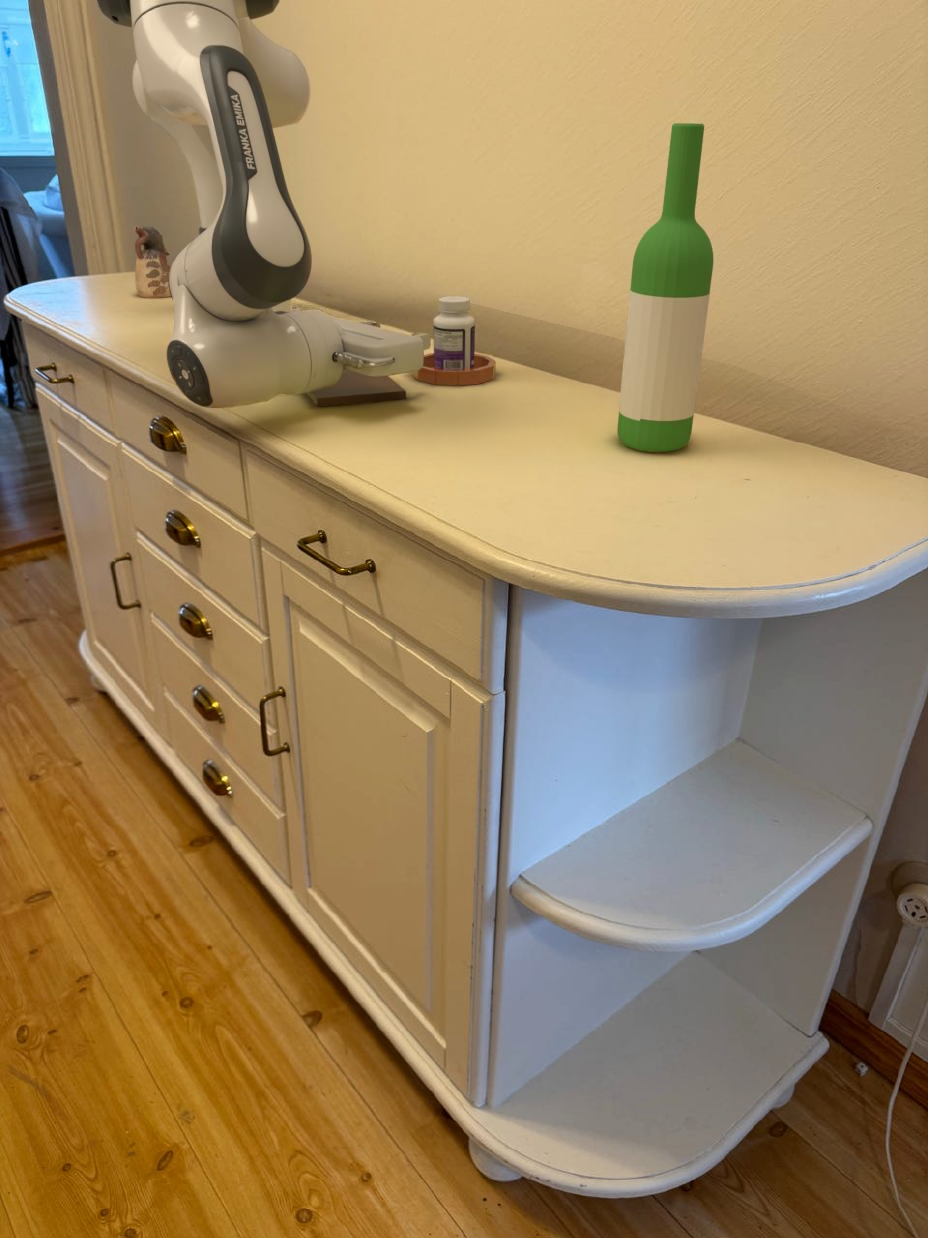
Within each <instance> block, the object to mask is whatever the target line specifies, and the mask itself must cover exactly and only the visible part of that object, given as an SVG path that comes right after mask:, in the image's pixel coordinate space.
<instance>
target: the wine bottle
mask: <svg viewBox="0 0 928 1238" xmlns="http://www.w3.org/2000/svg"><path fill="white" fill-rule="evenodd" d="M670 131H671V133H670V139H669V140H670V141H669V149H668V150H669V151H668V159H667V168H666V176H665V187H664V197H663V204H662V212H661V216H660V218H659V219H658V220H657V221H656V223H654V224H653V225H651V226H650V227H649V229H647V230H646V231H645V233H644V234H643V235H642V237H641V238H640V240H639V242H638V244H637V246H636V248H635V252H634V255H633V260H632V266H631V267H632V268H631V278H630V288H629V296H628V297H629V298H628V306H627V307H628V309H627V319H626V328H625V329H626V331H625V339H624V351H623V361H622V372H621V384H620V393H619V403H618V404H619V405H618V418H617V427H616V428H617V429H616V431H617V432H616V433H617V437H618V439H619V440H620V442H621V444H623V445H624V446H626V447H628V448H631V449H633V450H636V451H640V452H646V453H647V452H648V453H671V452H675V451H678V450H681V449H683V448H684V447H686V446H687V444H688V443H689V442H690V440H691V437H692V432H693V424H694V417H695V410H696V404H697V403H696V402H697V397H698V395H697V394H698V388H699V387H698V386H699V380H700V373H701V365H702V356H703V348H704V343H705V342H704V341H705V334H706V326H707V319H708V312H709V311H708V310H709V304H710V303H709V302H710V294H711V287H712V277H713V271H714V250H713V246H712V242H711V240H710V237H709V236H708V235H709V234H707V232H706V231H705V230H704V228H703V227H702V226H701V225H700V224H699V223H698V222H697V219H696V204H697V196H698V186H699V179H700V178H699V177H700V169H701V160H702V151H703V143H704V134H705V124H704V123H693V122H691V123H689V122H687V123H686V122H683V123H682V122H677V123H675V122H674V123H672V125H671V130H670Z"/></svg>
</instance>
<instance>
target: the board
mask: <svg viewBox="0 0 928 1238" xmlns="http://www.w3.org/2000/svg"><path fill="white" fill-rule="evenodd" d="M305 394H306V395H307V396H308V397H309V399H310V400H311V401H312V402H313V403H314V404H315V405H316V407H317V408H319V407H330V406H340V405H341V406H342V405H352V404H362V403H363V404H364V403H372V402H373V403H374V402H375V403H376V402H384V401H386V402H387V401H394V400H395V401H396V400H405V399H407V390H406V389H405V388H403V387H402V386H401V385H399V384H398V383H397V382H396V381H395V380H394V379H392V378H391V377H390V376H380V377H373V376H366V375H362V374H359V373H356V372H352V371H349V370H344V371H343V372H342V375H341V377H340V379H339V381H338V382H337V383H336V384H335V385H334V386H332V387H329V388H325V389H320V390H316V391H311V392H307V393H305Z"/></svg>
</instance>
